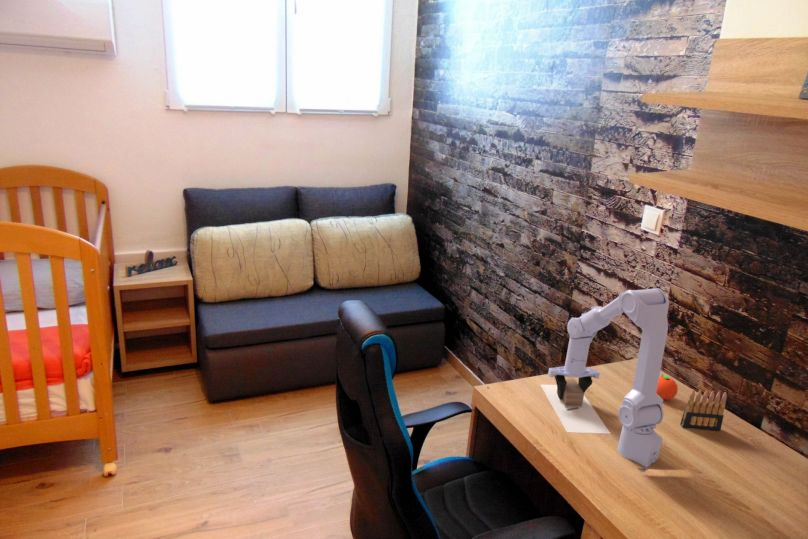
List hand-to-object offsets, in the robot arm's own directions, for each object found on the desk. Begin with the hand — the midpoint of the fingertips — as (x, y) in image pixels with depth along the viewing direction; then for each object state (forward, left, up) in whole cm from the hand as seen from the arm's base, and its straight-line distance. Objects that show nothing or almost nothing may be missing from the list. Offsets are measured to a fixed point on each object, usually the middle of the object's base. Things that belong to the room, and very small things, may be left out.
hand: (569, 398), depth 179 cm
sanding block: (0, 0, -1) cm, 1 cm away
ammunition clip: (-30, -21, -2) cm, 37 cm away
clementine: (-15, -29, -2) cm, 33 cm away
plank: (-3, +2, -2) cm, 4 cm away
